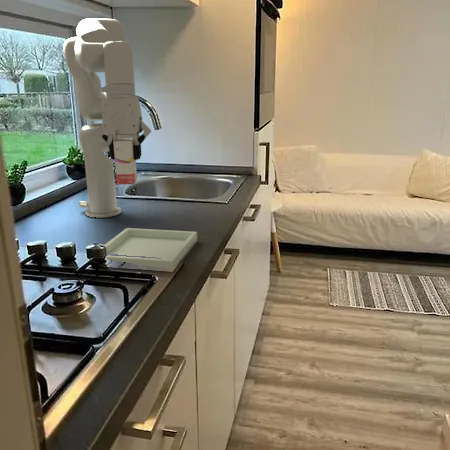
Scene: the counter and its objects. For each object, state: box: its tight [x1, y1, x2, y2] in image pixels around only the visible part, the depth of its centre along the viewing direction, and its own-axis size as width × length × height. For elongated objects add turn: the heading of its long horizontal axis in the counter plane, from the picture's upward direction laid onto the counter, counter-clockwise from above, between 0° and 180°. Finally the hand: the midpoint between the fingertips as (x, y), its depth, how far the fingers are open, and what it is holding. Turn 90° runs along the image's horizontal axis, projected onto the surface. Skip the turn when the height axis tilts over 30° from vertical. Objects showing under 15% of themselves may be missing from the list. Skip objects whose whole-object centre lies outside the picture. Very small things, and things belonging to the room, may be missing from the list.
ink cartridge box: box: [113, 130, 138, 185], centre depth 132 cm, size 9×5×15 cm, turn 4°
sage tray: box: [103, 227, 198, 269], centre depth 132 cm, size 22×24×3 cm
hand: (125, 158), depth 132 cm, fingers closed on ink cartridge box, 5 cm apart
